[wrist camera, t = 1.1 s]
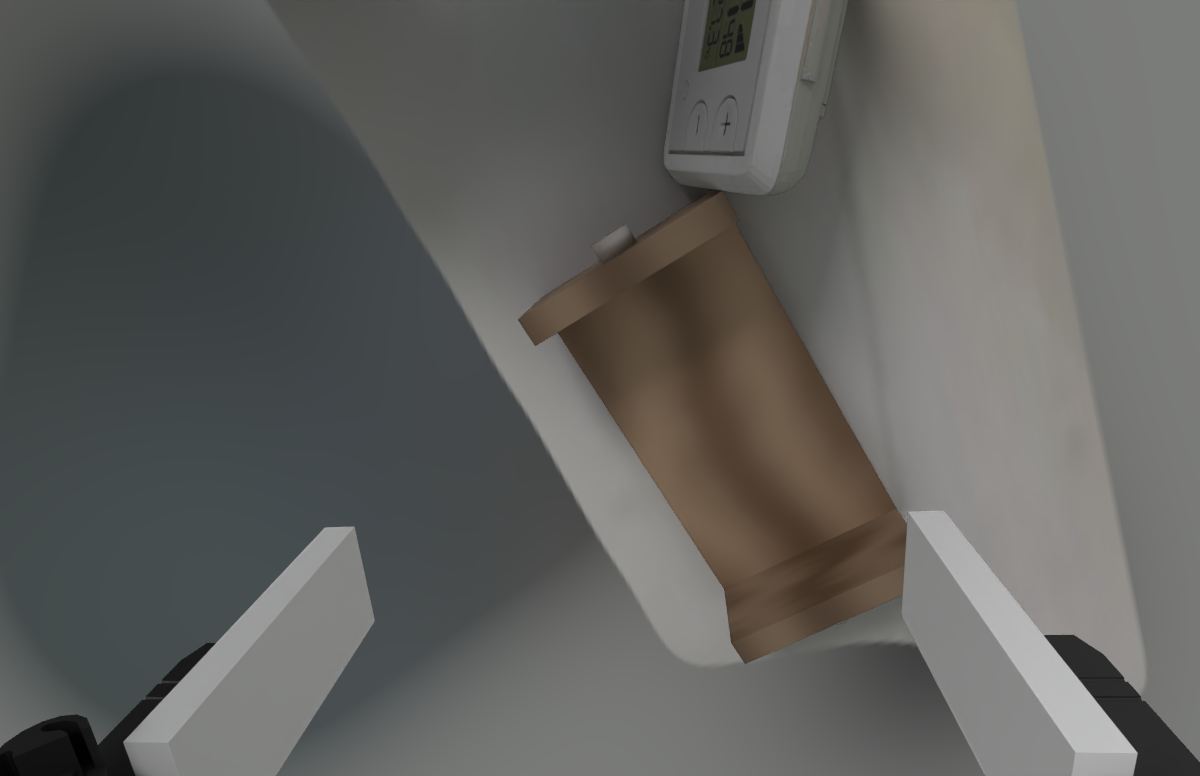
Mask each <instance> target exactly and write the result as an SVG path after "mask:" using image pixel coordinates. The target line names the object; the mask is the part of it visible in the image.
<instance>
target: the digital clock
mask: <svg viewBox="0 0 1200 776" xmlns="http://www.w3.org/2000/svg"><path fill="white" fill-rule="evenodd" d="M847 4H848V0H685V4H684V11H683V18H682V25H681V32H680V39H679V46H678V53H677V60H676V67H675V75H674V82H673V89H672V96H671V103H670V110H669V117H668V124H667V132H666V140H665V148H664V166H665V167H666V169H667V170H668V171H669V173H670V174H671V175H672V176H673V178H674V179H675V180H676V181H677V182H678V183H679V184H682V185H687V186H694V187H701V188H707V189H714V190H721V191H728V192H735V193H742V194H749V195H776V194H780V193H783V192H785V191H787V190H789V189H790V188H792V187H793V186H794V185H795V184H796V183H797V182H798V181H799V180H801V179H802V178H803V176H804V174H805V172H806V170H807V167H808V164H809V161H810V156H811V152H812V147H813V142H814V138H815V133H816V129H817V124H818V120H821V119H823V117H824V115H825V110H826V105H827V100H828V96H829V91H830V86H831V81H832V76H833V71H834V67H835V62H836V57H837V52H838V47H839V42H840V38H841V33H842V28H843V23H844V18H845V13H846V9H847Z"/></svg>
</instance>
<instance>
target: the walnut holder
mask: <svg viewBox="0 0 1200 776" xmlns="http://www.w3.org/2000/svg"><path fill="white" fill-rule="evenodd" d="M737 222H739V219H738V217H737V215H736V214H735V212H734V210H733V208H732V207H731V205H730V203H729V201H728V199H727V198H726V196H725V194H724V192H723V191H721V190H714V189H713V190H712V191H710V192H708V193H707V194H705V195H704V196H702V197H700V198H699V199H697V200H696V201H694V202H693V203H691V204H689V205H688V206H686V207H685V208H683V209H681V210H680V211H678V212H677V213H675V214H674V215H672V216H670V217H669V218H667V219H666V220H664V221H662V222H661V223H659V224H658V225H656V226H655V227H653V228H651V229H650V230H648V231H647V232H645V233H643V234H642V235H640V236H639V237H637V238H636V239H635V238H634V236H633V234H632V233H631V231H630V229H629V228H628V226H627V224H625V225H623V226H622V227H620V228H618V229H617V230H615V231H614V232H612V233H610V234H609V235H607V236H606V237H604V238H603V239H601V240H600V241H598V242H597V243H595V244H594V245H592V246H591V247H592V249H593V250H594V252H595V254H596V255H597V257H598V258H599V260H600V261H599V262H598V263H596V264H594V265H593V266H591V267H590V268H588V269H586V270H585V271H583V272H582V273H580V274H579V275H577V276H575V277H574V278H572V279H571V280H569V281H567V282H566V283H564V284H563V285H561V286H560V287H558V288H556V289H555V290H553V291H552V292H550V293H548V294H547V295H545V296H544V297H542V298H541V299H540V300H539V301H538V302H537V303H535V304H534V305H533V306H532V307H531V308H530V309H529V310H528V311H527V312H526V313H525V314H523V315H522V316H521V317H520V318H519V319H518V321H519V322H520V324H521V325H522V327H523V328H524V330H525V331H526V333H527V334H528V336H529V337H530V339H531V340H532V342H533V343H534V345H535V346H536V345H538V344H539V343H541V342H543V341H544V340H546V339H548V338H549V337H551V336H553V335H554V334H556V333H557V332H558V334H559V335H560V337H561V338H562V340H563V342H564V343H565V345H566V346H567V348H568V349H569V351H570V352H571V354H572V355H573V357H574V358H575V360H576V362H577V363H578V365H579V366H580V368H581V369H582V371H583V372H584V374H585V375H586V377H587V379H588V380H589V382H590V383H591V385H592V386H593V388H594V389H595V391H596V392H597V394H598V395H599V397H600V399H601V400H602V402H603V403H604V405H605V406H606V408H607V409H608V411H609V412H610V414H611V415H612V417H613V419H614V420H615V422H616V423H617V425H618V426H619V428H620V429H621V431H622V432H623V434H624V436H625V437H626V439H627V440H628V442H629V443H630V445H631V446H632V448H633V449H634V451H635V452H636V454H637V456H638V457H639V459H640V460H641V462H642V463H643V465H644V466H645V468H646V469H647V471H648V473H649V474H650V476H651V477H652V479H653V480H654V482H655V483H656V485H657V486H658V488H659V489H660V491H661V493H662V494H663V496H664V497H665V499H666V500H667V502H668V503H669V505H670V506H671V508H672V510H673V511H674V513H675V514H676V516H677V517H678V519H679V520H680V522H681V523H682V525H683V526H684V528H685V530H686V531H687V533H688V534H689V536H690V537H691V539H692V540H693V542H694V543H695V545H696V546H697V548H698V550H699V551H700V553H701V554H702V556H703V557H704V559H705V560H706V562H707V563H708V565H709V567H710V568H711V570H712V571H713V573H714V574H715V576H716V577H717V579H718V580H719V582H720V583H721V585H722V587H723V588H724V591H725V599H726V606H727V614H728V622H729V629H730V637H731V643H732V645H733V646H734V648H735V649H736V651H737V653H738V654H739V656H740V657H741V659H742V660H743V662H744V663H745V664H746V663H748V662H751V661H753V660H755V659H758V658H760V657H762V656H764V655H767V654H769V653H771V652H774V651H776V650H778V649H780V648H783V647H785V646H787V645H790V644H792V643H794V642H796V641H799V640H801V639H803V638H806V637H808V636H810V635H812V634H815V633H817V632H819V631H822V630H824V629H826V628H828V627H831V626H833V625H838V624H841V623H843V622H845V621H847V620H848V619H850V618H851V617H854V616H856V615H858V614H860V613H863V612H865V611H867V610H870V609H872V608H874V607H876V606H879V605H881V604H883V603H885V602H888V601H890V600H892V599H895V598H897V597H899V596H901V595H903V584H904V568H905V552H906V536H907V523H906V522H905V521H904V519H903V518H902V516H901V515H900V513H899V512H898V510H897V509H896V507H895V505H894V504H893V502H892V500H891V498H890V497H889V495H888V493H887V491H886V490H885V488H884V486H883V484H882V482H881V481H880V479H879V477H878V475H877V474H876V472H875V470H874V468H873V467H872V465H871V463H870V461H869V459H868V458H867V456H866V454H865V452H864V451H863V449H862V447H861V445H860V444H859V442H858V440H857V438H856V437H855V435H854V433H853V431H852V429H851V428H850V426H849V424H848V422H847V421H846V419H845V417H844V415H843V414H842V412H841V410H840V408H839V406H838V405H837V403H836V401H835V399H834V398H833V396H832V394H831V392H830V391H829V389H828V387H827V385H826V384H825V382H824V380H823V378H822V376H821V375H820V373H819V371H818V369H817V368H816V366H815V364H814V362H813V361H812V359H811V357H810V355H809V353H808V352H807V350H806V348H805V346H804V345H803V343H802V341H801V339H800V338H799V336H798V334H797V332H796V330H795V329H794V327H793V325H792V323H791V322H790V320H789V318H788V316H787V315H786V313H785V311H784V309H783V308H782V306H781V304H780V302H779V300H778V299H777V297H776V295H775V293H774V292H773V290H772V288H771V286H770V285H769V283H768V281H767V279H766V277H765V276H764V274H763V272H762V270H761V269H760V267H759V265H758V263H757V262H756V260H755V258H754V256H753V255H752V253H751V251H750V249H749V247H748V246H747V244H746V242H745V240H744V239H743V237H742V235H741V233H740V232H739V230H738V228H737V226H736V224H735V223H737Z"/></svg>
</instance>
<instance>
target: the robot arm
mask: <svg viewBox="0 0 1200 776" xmlns="http://www.w3.org/2000/svg"><path fill="white" fill-rule="evenodd" d="M902 617H903V619H904V621H905V623H906V625H907V627H908V629H909V631H910V632H911V634H912V636H913V638H914V640H915V642H916V644H917V646H918V648H919V650H920V652H921V654H922V655H923V657H924V659H925V661H926V663H927V665H928V667H929V669H930V671H931V673H932V674H933V676H934V678H935V680H936V682H937V684H938V686H939V688H940V690H941V692H942V694H943V696H944V698H945V700H946V702H947V703H948V705H949V707H950V709H951V711H952V713H953V715H954V717H955V719H956V721H957V723H958V725H959V727H960V728H961V730H962V732H963V734H964V736H965V738H966V740H967V742H968V744H969V746H970V747H971V750H972V751H973V753H974V755H975V757H976V759H977V761H978V763H979V765H980V767H981V769H982V771H983V773H984V775H985V776H1200V762H1199V761H1198V760H1197V759H1196V758H1195V757H1194V755H1193V754H1192V753H1191V752H1190V751H1189V750H1188V749H1187V748H1186V746H1185V745H1184V744H1183V743H1182V742H1181V741H1180V740H1179V739H1178V738H1177V736H1176V735H1174V733H1173V732H1172V731H1171V730H1170V729H1169V727H1167V725H1166V724H1165V723H1164V722H1163V721H1162V720H1161V718H1160V717H1159V716H1158V715H1157V714H1156V713H1155V712H1154V711H1153V710H1152V709H1151V707H1150V706H1149V705H1148V704H1147V703H1146V702H1145V701H1142V700H1141V696H1140V695H1139V694H1138V693H1137V692H1136V690H1135V689H1134V688H1133V687H1132V686H1131V685H1130V684H1129V683H1128V682H1125V681H1124V677H1123V676H1122V675H1121V674H1120V672H1119V671H1118V670H1117V669H1116V668H1115V667H1114V666H1113V665H1112V663H1111V662H1110V661H1109V660H1108V659H1107V658H1106V657H1105V656H1104V655H1103V654H1102V653H1100V652H1099V651H1097V650H1096V649H1094V648H1093V647H1091V646H1090V645H1088V644H1087V643H1085V642H1084V641H1082V640H1081V639H1079V638H1078V637H1076V636H1074V635H1043V634H1042V633H1041V632H1040V630H1039V629H1038V628H1037V627H1036V625H1035V624H1034V623H1033V622H1032V620H1031V619H1030V618H1029V617H1028V615H1027V614H1026V613H1025V612H1024V610H1023V609H1022V608H1021V607H1020V605H1019V604H1018V603H1017V602H1016V600H1015V599H1014V598H1013V597H1012V595H1011V594H1010V593H1009V592H1008V590H1007V589H1006V588H1005V587H1004V585H1003V584H1002V583H1001V582H1000V580H999V579H998V578H997V577H996V575H995V574H994V573H993V572H992V570H991V569H990V568H989V567H988V565H987V564H986V563H985V562H984V560H983V559H982V558H981V557H980V555H979V554H978V553H977V552H976V550H975V549H974V548H973V547H972V545H971V544H970V543H969V542H968V540H967V539H966V538H965V537H964V535H963V534H962V533H961V532H960V530H959V529H958V528H957V527H956V525H955V524H954V523H953V522H952V520H951V519H950V518H949V517H948V515H947V514H946V513H945V512H944V511H912V512H908V520H907V536H906V552H905V568H904V584H903V600H902ZM374 621H375V620H374V616H373V611H372V607H371V602H370V597H369V593H368V589H367V583H366V579H365V574H364V569H363V565H362V560H361V556H360V551H359V546H358V542H357V537H356V533H355V528H354V527H331V528H324V529H323V530H322V531H321V532H320V534H319V535H318V536H317V537H316V538H315V539H314V540H313V541H312V542H311V543H310V544H309V545H308V546H307V547H306V549H305V550H303V552H302V553H301V554H300V555H299V556H298V557H297V558H296V559H295V560H294V561H293V562H292V563H291V564H290V565H289V566H288V568H287V569H286V570H285V571H284V572H283V573H282V574H281V575H280V576H279V577H278V578H277V579H276V580H275V581H274V583H272V584H271V586H270V587H269V588H268V589H267V590H266V591H265V592H264V593H263V594H262V595H261V596H260V597H259V599H257V600H256V602H255V603H254V604H253V605H252V606H251V607H250V608H249V609H248V610H247V611H246V612H245V613H244V614H243V615H242V616H241V617H240V618H239V620H238V621H237V622H236V623H235V624H234V625H233V626H232V627H231V628H230V629H229V630H228V631H227V632H226V634H225V635H223V637H222V638H221V639H220V640H219V641H218V642H217V643H206V644H205V645H203V646H202V647H200V648H199V649H198V650H196V651H195V652H193V653H191V654H190V655H188V656H187V657H185V658H184V659H182V660H181V661H180V662H179V663H178V664H177V665H176V666H175V667H174V668H173V669H172V670H171V671H170V672H169V673H168V674H167V675H166V676H165V677H164V678H163V679H162V683H161V684H157V685H156V686H155V687H154V689H153V690H152V691H151V692H150V693H149V694H148V695H147V696H146V699H145V700H142V701H141V702H140V703H139V704H138V705H137V706H136V707H135V708H134V709H133V710H132V711H131V712H130V713H129V714H128V715H127V716H126V717H125V718H124V719H123V720H122V721H121V722H120V723H119V724H118V725H117V726H116V727H115V728H114V729H113V730H112V731H111V732H110V733H109V734H108V736H106V738H105V739H103V741H102V742H101V743H100V744H99V745H97V742H96V740H95V737H94V735H93V732H92V729H91V727H90V724H89V722H88V720H87V718H85V717H82V716H79V715H65V716H60V717H56V718H53V719H49V720H46V721H43V722H41V723H39V724H37V725H35V726H32V727H30V728H29V729H26V730H24V731H22V732H21V733H19V734H18V735H16V736H15V737H13V738H12V739H11V740H9V741H8V742H6V743H5V744H4V745H3V746H2V747H1V748H0V776H276V774H277V773H278V771H279V770H280V768H281V767H282V765H283V763H284V762H285V760H286V759H287V757H288V756H289V754H290V752H291V751H292V749H293V748H294V746H295V745H296V743H297V742H298V740H299V738H300V737H301V735H302V734H303V732H304V730H305V729H306V727H307V726H308V724H309V723H310V721H311V720H312V718H313V717H314V715H315V713H316V712H317V710H318V709H319V707H320V706H321V704H322V702H323V701H324V699H325V698H326V696H327V695H328V693H329V692H330V690H331V688H332V687H333V685H334V684H335V682H336V681H337V679H338V677H339V676H340V674H341V673H342V671H343V670H344V668H345V667H346V665H347V663H348V662H349V660H350V659H351V657H352V655H353V654H354V652H355V651H356V649H357V648H358V646H359V645H360V643H361V642H362V640H363V638H364V637H365V635H366V634H367V632H368V631H369V629H370V627H371V626H372V624H373V623H374Z"/></svg>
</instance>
